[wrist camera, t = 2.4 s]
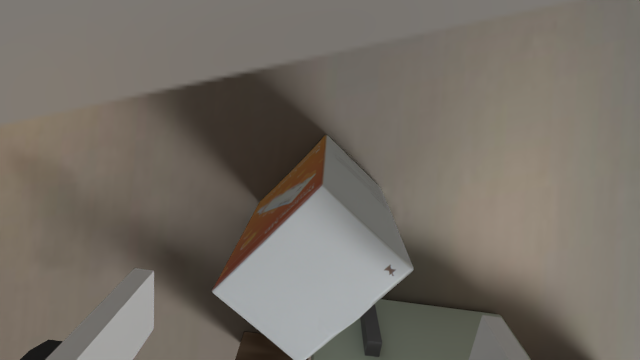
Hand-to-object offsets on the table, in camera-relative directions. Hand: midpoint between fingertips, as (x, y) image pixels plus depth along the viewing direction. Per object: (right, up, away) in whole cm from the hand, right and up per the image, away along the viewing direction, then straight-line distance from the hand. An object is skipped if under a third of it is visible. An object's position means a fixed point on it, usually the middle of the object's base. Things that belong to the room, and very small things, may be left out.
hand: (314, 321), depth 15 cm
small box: (0, +5, +16) cm, 16 cm away
